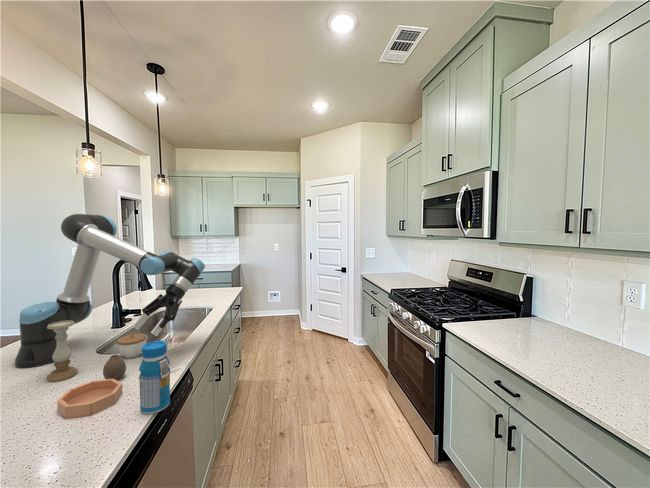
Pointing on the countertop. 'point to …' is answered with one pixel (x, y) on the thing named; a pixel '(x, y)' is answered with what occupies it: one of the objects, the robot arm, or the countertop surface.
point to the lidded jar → (131, 345)
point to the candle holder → (61, 353)
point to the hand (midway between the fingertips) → (144, 331)
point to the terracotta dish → (89, 398)
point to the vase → (114, 368)
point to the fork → (180, 365)
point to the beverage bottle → (154, 378)
